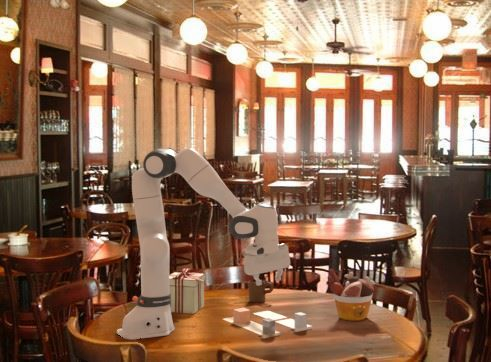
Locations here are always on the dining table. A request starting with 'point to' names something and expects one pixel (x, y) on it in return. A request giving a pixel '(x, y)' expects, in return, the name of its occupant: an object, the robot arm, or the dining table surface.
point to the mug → (258, 291)
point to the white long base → (259, 327)
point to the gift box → (186, 291)
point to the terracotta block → (241, 316)
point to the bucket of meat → (352, 296)
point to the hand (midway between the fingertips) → (268, 282)
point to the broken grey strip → (288, 320)
